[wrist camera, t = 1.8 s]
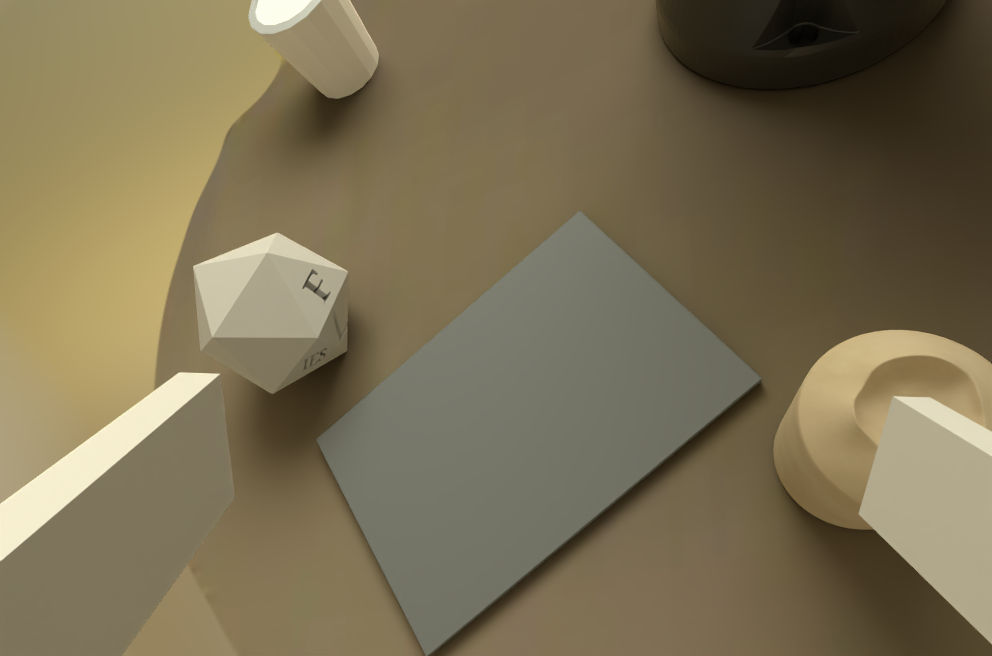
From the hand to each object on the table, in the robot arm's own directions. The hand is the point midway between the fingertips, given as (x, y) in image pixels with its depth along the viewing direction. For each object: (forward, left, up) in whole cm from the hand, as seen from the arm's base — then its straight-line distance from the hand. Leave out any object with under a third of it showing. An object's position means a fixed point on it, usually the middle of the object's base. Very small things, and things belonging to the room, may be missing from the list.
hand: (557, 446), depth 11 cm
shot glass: (-3, -38, -17) cm, 42 cm away
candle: (-7, +4, -17) cm, 19 cm away
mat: (+3, -7, -16) cm, 18 cm away
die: (+10, -20, -17) cm, 28 cm away
